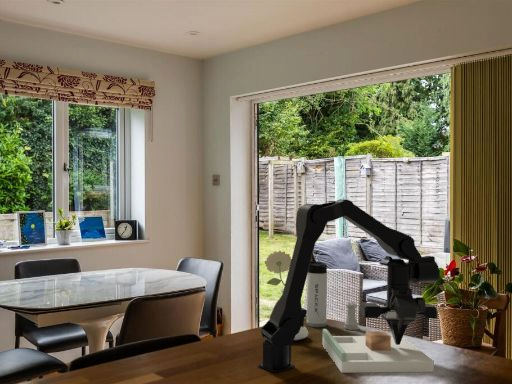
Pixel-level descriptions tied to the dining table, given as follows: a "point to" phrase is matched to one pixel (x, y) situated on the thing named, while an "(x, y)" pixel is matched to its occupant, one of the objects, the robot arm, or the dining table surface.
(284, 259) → the flower in vase
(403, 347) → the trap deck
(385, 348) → the block
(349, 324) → the rook chess piece
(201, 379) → the dining table surface
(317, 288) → the travel mug
